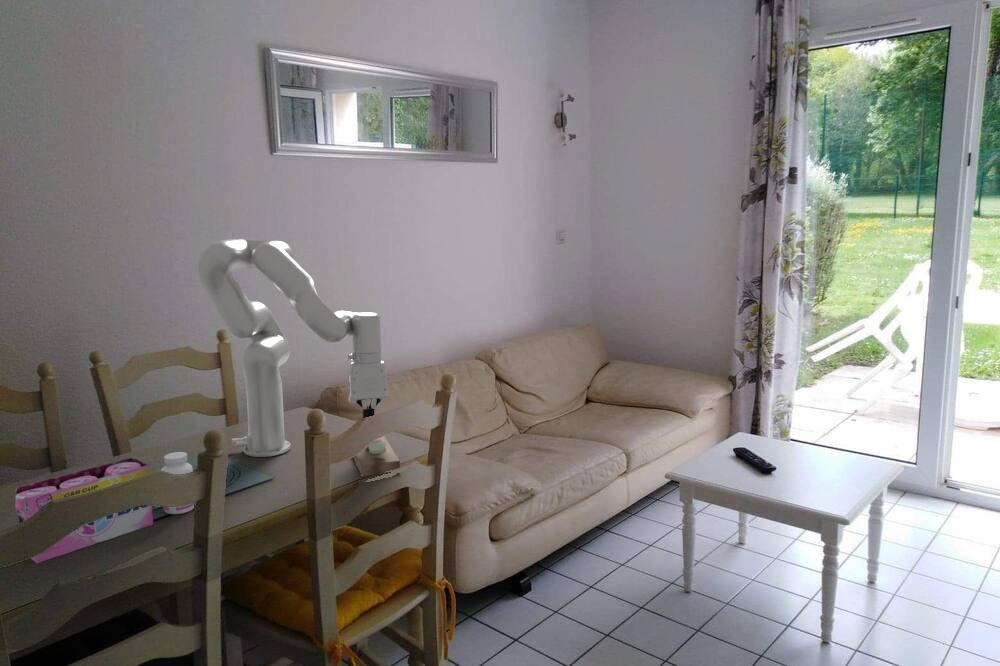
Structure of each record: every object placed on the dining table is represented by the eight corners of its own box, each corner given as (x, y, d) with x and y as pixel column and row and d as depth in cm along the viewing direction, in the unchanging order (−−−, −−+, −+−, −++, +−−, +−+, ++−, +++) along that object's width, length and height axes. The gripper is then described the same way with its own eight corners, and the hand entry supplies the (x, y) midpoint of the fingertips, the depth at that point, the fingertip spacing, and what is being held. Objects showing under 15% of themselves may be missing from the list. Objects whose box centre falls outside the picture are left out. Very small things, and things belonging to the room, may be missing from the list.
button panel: (361, 476, 179) (361, 465, 179) (349, 448, 200) (348, 438, 199) (399, 471, 183) (399, 460, 182) (384, 445, 203) (383, 435, 203)
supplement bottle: (201, 504, 162) (197, 450, 160) (185, 516, 155) (181, 461, 153) (173, 502, 162) (169, 449, 160) (157, 514, 156) (152, 459, 154)
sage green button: (370, 454, 181) (370, 447, 181) (367, 449, 185) (367, 442, 185) (387, 453, 183) (387, 445, 182) (384, 447, 187) (384, 440, 186)
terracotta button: (366, 450, 188) (366, 443, 188) (363, 445, 192) (363, 438, 192) (382, 448, 189) (382, 441, 189) (379, 443, 193) (379, 436, 193)
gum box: (28, 567, 133) (20, 500, 130) (13, 554, 138) (5, 489, 135) (154, 524, 151) (149, 464, 149) (137, 514, 156) (132, 456, 154)
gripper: (341, 362, 187) (343, 428, 190) (396, 358, 192) (398, 422, 195) (337, 356, 194) (340, 420, 197) (391, 353, 199) (392, 415, 202)
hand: (368, 421), depth 196 cm, fingers closed
